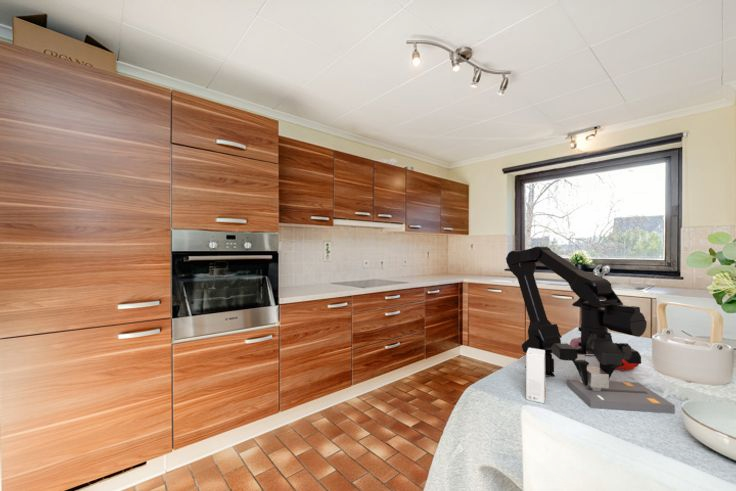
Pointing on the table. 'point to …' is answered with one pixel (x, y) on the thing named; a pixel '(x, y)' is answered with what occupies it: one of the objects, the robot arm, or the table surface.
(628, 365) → the tomato
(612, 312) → the robot arm
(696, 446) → the table surface
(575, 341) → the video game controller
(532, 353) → the skincare box
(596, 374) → the fader knob
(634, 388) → the fader board
